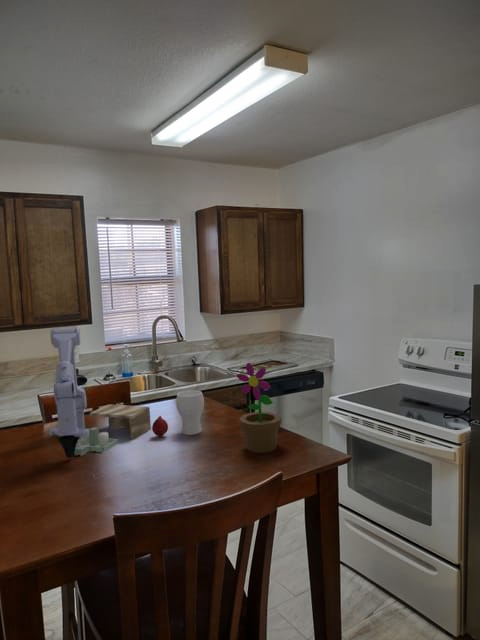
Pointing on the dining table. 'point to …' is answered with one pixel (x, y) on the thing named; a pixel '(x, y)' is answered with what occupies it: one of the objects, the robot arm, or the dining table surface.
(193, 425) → the cup
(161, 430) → the onion
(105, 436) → the white egg
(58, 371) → the robot arm
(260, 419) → the flowerpot
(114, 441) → the tray
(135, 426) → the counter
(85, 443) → the grey rounded piece
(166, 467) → the dining table surface
